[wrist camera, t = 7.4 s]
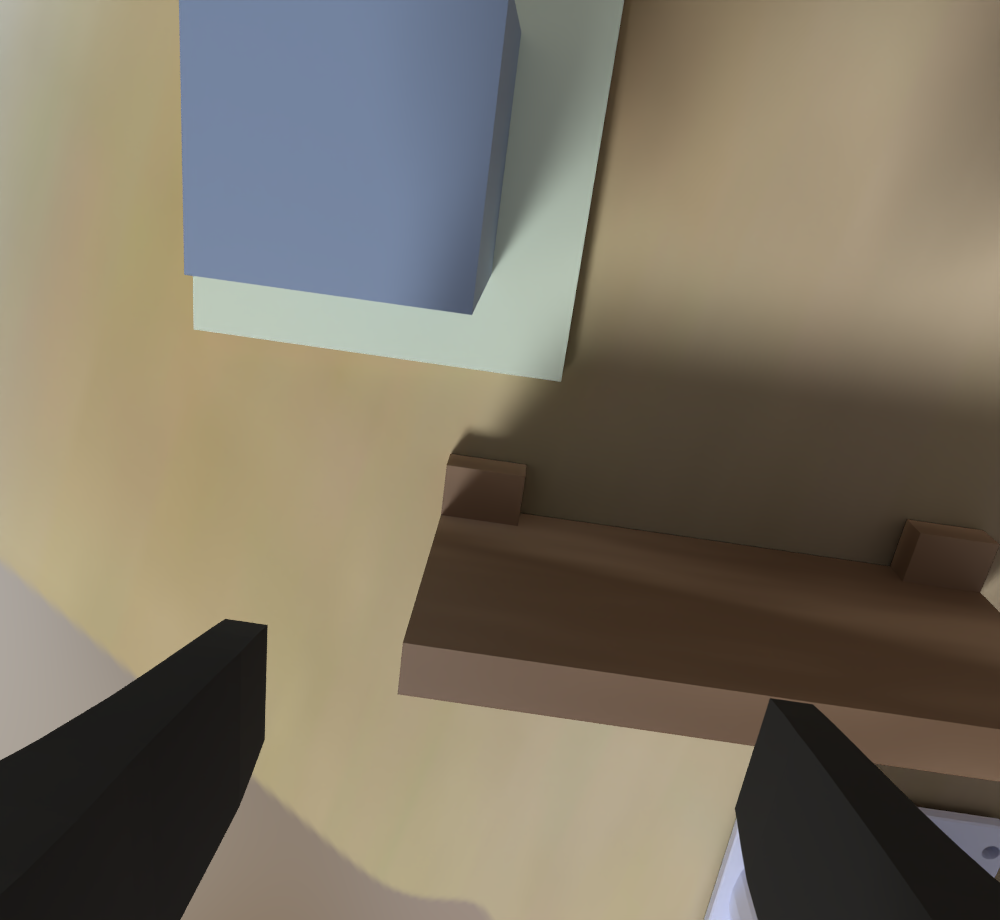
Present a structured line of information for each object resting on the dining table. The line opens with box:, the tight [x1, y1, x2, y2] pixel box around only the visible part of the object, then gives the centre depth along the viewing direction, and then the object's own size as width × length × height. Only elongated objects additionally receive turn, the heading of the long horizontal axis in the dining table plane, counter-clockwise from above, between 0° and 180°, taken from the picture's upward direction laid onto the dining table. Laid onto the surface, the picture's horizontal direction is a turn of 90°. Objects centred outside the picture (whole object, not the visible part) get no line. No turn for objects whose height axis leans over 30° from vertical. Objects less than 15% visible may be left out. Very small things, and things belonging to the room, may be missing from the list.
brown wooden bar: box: [398, 454, 1000, 782], centre depth 18 cm, size 4×14×6 cm, turn 83°
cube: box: [179, 0, 521, 315], centre depth 15 cm, size 5×5×5 cm
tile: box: [193, 0, 624, 382], centre depth 18 cm, size 9×9×1 cm
